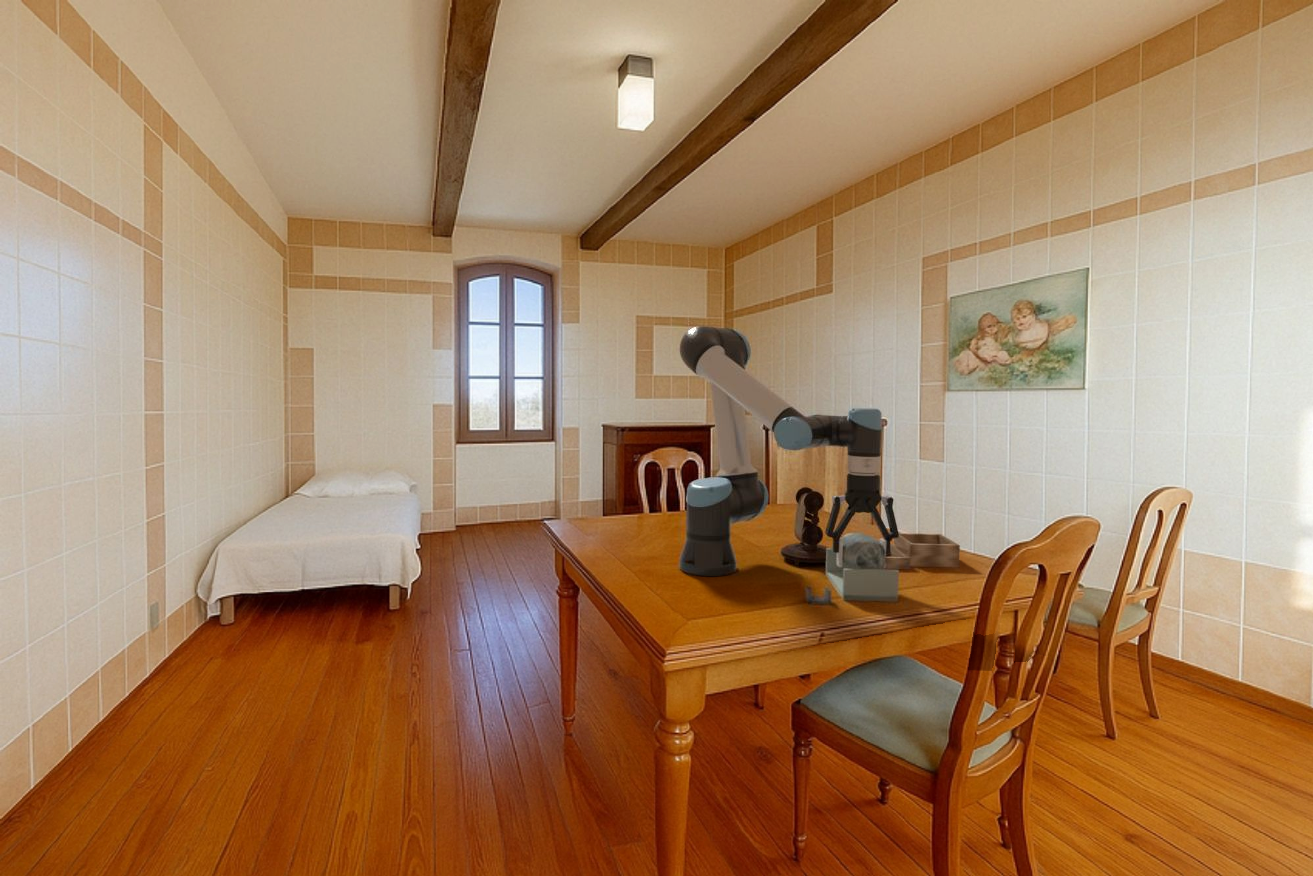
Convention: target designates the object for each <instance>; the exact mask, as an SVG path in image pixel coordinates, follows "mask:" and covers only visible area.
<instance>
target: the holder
mask: <svg viewBox="0 0 1313 876" xmlns="http://www.w3.org/2000/svg"><path fill="white" fill-rule="evenodd" d="M836 560H837V553H835V552H834V551H833V547H832V548H831V547H828V548H826V562H825V576H826V578H827V579H828V581H829V582H830V584H831V585H832V586H833V587H834V589H835V590H836V592H837V594H838V595H839V596H840V597H841V599H842V600H843V601H857V602H858V601H859V602H861V601H862V602H865V601H866V602H893V603H894V602H896V603H898V601H899V600H898V599H899V579H900V578H899V577H900V576H899V575H900V571H899V569H854V568H852V567H850V566H848V565H847V564H845V563H844V562H843V561H842V567H838V565H837V564H836Z"/></svg>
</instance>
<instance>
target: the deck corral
mask: <svg viewBox="0 0 1313 876" xmlns="http://www.w3.org/2000/svg"><path fill="white" fill-rule="evenodd" d="M910 567H911V566H910V558H909V557H908V556H907V555H905V554H904V553H903V552H901V551H900V550H899V549H898V548H896V547H895V546H894V544H892V543H890V553H886V568H884V569H890V570H910Z"/></svg>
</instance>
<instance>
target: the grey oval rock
mask: <svg viewBox="0 0 1313 876" xmlns="http://www.w3.org/2000/svg"><path fill="white" fill-rule="evenodd" d="M840 538H841V539H842V540H843V557H842V561H843V562H844V563H845V564H847V565H848V566H850V567H852V568H854V569H884V566H885V563H886V557H887V555H886V554H885V549H884V547H883V545H882V544H881V543H880V540H879V539H877V538H875V537H873V536H871V535H868V534H865V533H862V532H850V533H846V534H844V535H842V536H841V537H840Z"/></svg>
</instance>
